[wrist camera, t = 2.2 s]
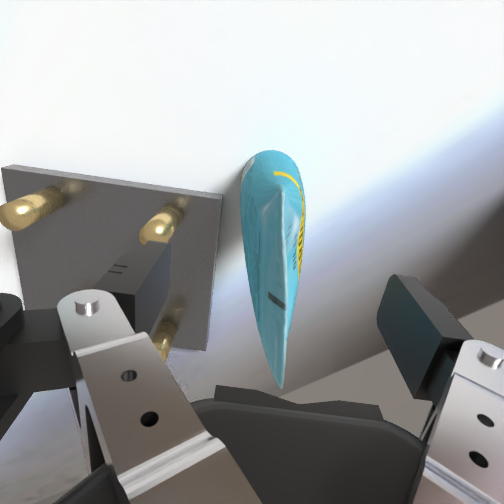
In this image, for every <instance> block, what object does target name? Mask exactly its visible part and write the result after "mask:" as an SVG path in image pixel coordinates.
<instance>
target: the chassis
mask: <svg viewBox="0 0 504 504" xmlns="http://www.w3.org/2000/svg"><path fill="white" fill-rule="evenodd" d="M1 171H2V177H3V183H4V189H5V195H6V200H7V203H6V204H4V205H2V206H0V222H1V224H2V225H3V226H5V227H6V228H7V229H9V230H12V235H13V241H14V247H15V253H16V258H17V264H18V270H19V276H20V282H21V287H22V293H23V299H24V305H25V310H39V309H53V308H57V305H58V303H59V302H60V300H61V299H63V298H64V297H65V296H67V295H69V294H71V293H74V292H77V291H81V290H90V289H92V288H93V287H94V285H95V284H96V283H97V282H98V281H99V280H100V279H101V278H102V277H103V275H104V274H105V273H106V272H108V270H109V269H110V268H111V267H112V266H113V264H114V263H115V262H116V261H117V260H118V259H119V258H120V257H121V256H123V255H125V254H127V253H129V252H131V251H133V252H140V250H141V249H142V248H143V247H144V245H145V244H146V243H147V242H148V241H149V240H151V241H159V242H166V243H170V244H171V267H170V285H169V291H168V295H167V298H166V300H165V302H164V305H163V307H162V309H161V311H160V313H159V315H158V317H157V319H156V321H155V323H154V325H153V327H152V329H151V332H150V334H149V337H150V339H151V341H152V342H153V344H154V346H155V347H156V349H157V350H158V352H159V354H160V355H161V357H162V359H163V360H164V362H166V359H167V357H168V354H169V351H170V349H171V346H172V347H180V348H187V349H194V350H202V351H206V347H207V343H208V335H209V325H210V315H211V305H212V295H213V286H214V276H215V266H216V256H217V246H218V237H219V227H220V217H221V207H222V197H223V195H221V194H214V193H207V192H200V191H193V190H187V189H180V188H173V187H166V186H159V185H152V184H145V183H138V182H131V181H124V180H117V179H110V178H103V177H96V176H90V175H83V174H76V173H69V172H62V171H55V170H48V169H41V168H34V167H27V166H20V165H10V166H6V167H2V168H1Z"/></svg>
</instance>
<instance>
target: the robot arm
mask: <svg viewBox="0 0 504 504" xmlns="http://www.w3.org/2000/svg"><path fill="white" fill-rule="evenodd" d="M170 267H171V244H170V243H166V242H159V241H151V240H149V241H148V242H147V243H146V244H145V245H144V247H143V248H142V249H141V250H140V252H133V251H131V252H129V253H127V254H125V255H123V256H121V257H120V258H119V259H118V260H117V261H116V262H115V263H114V264H113V266H112V267H111V268H110V269H109V270H108V272H106V273H105V274H104V275H103V277H102V278H101V279H100V280H99V281H98V282H97V283H96V284H95V285H94V287H93V288H92V289H90V290H81V291H77V292H74V293H71V294H69V295H67V296H65V297H64V298H63V299H61V300H60V302H59V303H58V305H57V308H53V309H39V310H23V307H22V302H21V299H20V298H19V297H17V296H15V295H12V294H7V293H0V440H1V439H2V437H3V436H4V434H5V433H6V432H7V430H8V429H9V427H10V426H11V424H12V423H13V422H14V420H15V419H16V417H17V416H18V414H19V413H20V411H21V410H22V409H23V407H24V406H25V404H26V403H27V401H28V400H29V398H30V397H31V396H32V394H33V392H39V391H47V390H54V389H62V388H67V391H68V394H69V398H70V402H71V406H72V409H73V413H74V417H75V420H76V424H77V428H78V431H79V435H80V439H81V443H82V447H83V452H84V458H85V463H86V468H87V473H88V476H87V477H86V478H85V479H83V480H82V481H81V482H80V483H78V484H77V485H76V486H74V487H73V488H72V489H71V490H69V491H68V492H67V493H65V494H64V495H63V496H62V497H60V498H59V499H58V500H57V501H55V502H54V503H53V504H504V350H502V349H500V348H498V347H496V346H494V345H492V344H489V343H487V342H483V341H479V340H474V339H473V337H472V336H471V335H470V334H469V333H468V332H467V330H466V329H465V328H464V327H463V326H462V325H461V323H460V322H459V321H458V320H455V317H454V315H453V314H452V313H451V312H449V310H448V309H447V307H446V306H445V305H444V304H443V303H442V302H441V301H440V300H439V299H437V298H436V297H434V296H433V295H432V294H430V293H429V292H428V291H427V290H426V289H425V288H424V287H423V285H422V284H421V283H420V282H419V281H418V280H417V278H415V277H409V276H402V275H395V274H394V275H392V276H391V277H390V278H389V281H388V283H387V286H386V289H385V292H384V295H383V297H382V300H381V303H380V306H379V309H378V312H377V325H378V328H379V330H380V332H381V334H382V336H383V338H384V340H385V342H386V344H387V346H388V348H389V350H390V352H391V354H392V356H393V358H394V360H395V362H396V364H397V366H398V368H399V370H400V372H401V374H402V376H403V378H404V380H405V382H406V384H407V386H408V388H409V390H410V392H411V394H412V396H413V398H414V399H421V400H429V401H432V403H433V404H432V406H431V408H430V410H429V412H428V415H427V417H426V420H425V422H424V425H423V427H422V430H421V432H420V435H419V437H416V436H414V435H413V434H411V433H410V432H408V431H406V430H405V429H403V428H401V427H399V426H397V425H395V424H393V423H391V422H388V421H386V420H384V419H383V417H382V414H381V411H380V409H379V406H378V405H371V404H363V403H355V402H346V401H329V402H320V403H309V404H296V403H293V402H290V401H287V400H284V399H281V398H278V397H275V396H272V395H269V394H266V393H264V392H261V391H258V390H252V389H244V388H236V387H228V386H220V385H216V389H215V395H214V398H210V399H204V400H199V401H195V402H192V403H189V401H188V400H187V398H186V396H185V395H184V393H183V391H182V390H181V388H180V386H179V385H178V383H177V382H176V380H175V378H174V377H173V375H172V373H171V372H170V370H169V368H168V367H167V365H166V364H165V362H164V360H163V359H162V357H161V355H160V354H159V352H158V350H157V349H156V347H155V346H154V344H153V342H152V341H151V339H150V337H149V334H150V332H151V329H152V327H153V325H154V323H155V321H156V319H157V317H158V315H159V313H160V311H161V309H162V307H163V305H164V302H165V300H166V298H167V295H168V291H169V285H170Z"/></svg>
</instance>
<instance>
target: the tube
mask: <svg viewBox="0 0 504 504" xmlns="http://www.w3.org/2000/svg"><path fill="white" fill-rule="evenodd" d="M241 223H242V234H243V243H244V252H245V260H246V268H247V274H248V280H249V286H250V292H251V297H252V302H253V307H254V312H255V317H256V321H257V326H258V330H259V333H260V337H261V340H262V344H263V347H264V350H265V354H266V357H267V360H268V362H269V365H270V368H271V371H272V374H273V377H274V380H275V382H276V384H277V386H278V387H279V388H280V389H282V388H283V384H284V372H285V363H286V342H287V338H288V334H289V329H290V324H291V319H292V314H293V309H294V305H295V299H296V293H297V288H298V282H299V277H300V270H301V262H302V254H303V244H304V233H305V195H304V189H303V184H302V180H301V176H300V173H299V170H298V167H297V165H296V164H295V162H294V161H293V160H292V159H291V158H290V157H289V156H288V155H286V154H285V153H283V152H280V151H275V150H267V151H263V152H260V153H258V154H256V155H255V156H253V157H252V158H251V159H250V160H249V161H248V162H247V164H246V166H245V168H244V170H243V173H242V180H241Z"/></svg>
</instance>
